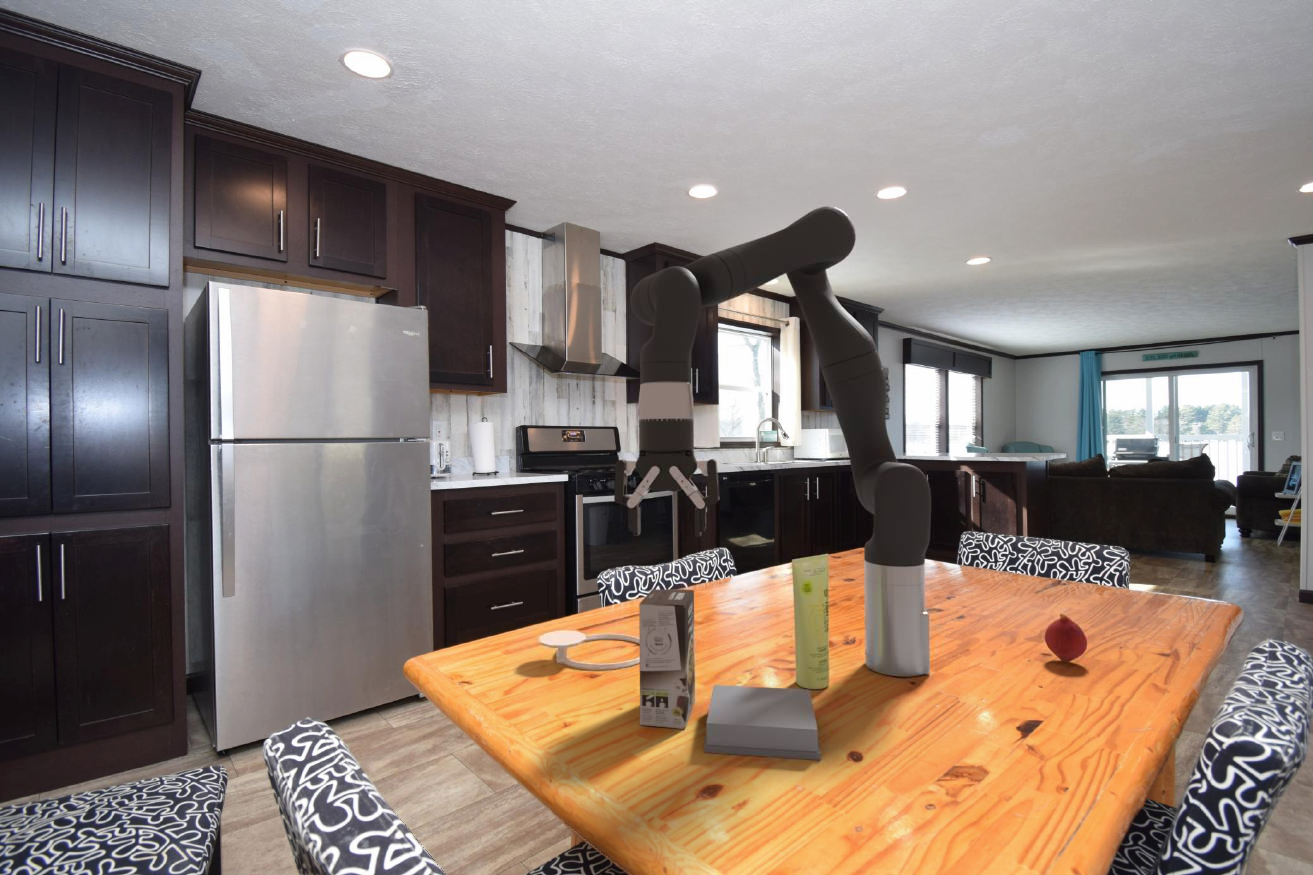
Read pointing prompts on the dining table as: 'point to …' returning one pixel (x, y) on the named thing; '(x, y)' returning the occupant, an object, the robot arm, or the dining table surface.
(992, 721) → the dining table surface
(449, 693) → the dining table surface
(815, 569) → the tube
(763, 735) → the plate
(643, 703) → the coffee box
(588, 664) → the hand towel holder
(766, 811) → the dining table surface
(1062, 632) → the onion
